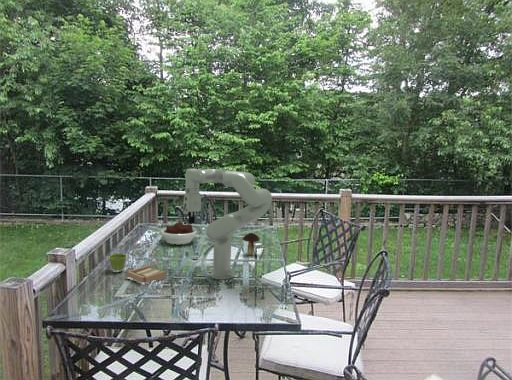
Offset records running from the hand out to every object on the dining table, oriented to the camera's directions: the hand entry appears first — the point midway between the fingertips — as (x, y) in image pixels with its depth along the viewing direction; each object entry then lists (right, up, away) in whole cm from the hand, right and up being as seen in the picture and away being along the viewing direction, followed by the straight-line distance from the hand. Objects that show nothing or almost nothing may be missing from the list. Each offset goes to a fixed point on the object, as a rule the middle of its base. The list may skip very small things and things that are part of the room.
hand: (191, 223), depth 231 cm
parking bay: (-21, -28, -14) cm, 38 cm away
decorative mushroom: (+33, -24, +36) cm, 54 cm away
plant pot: (-40, -27, -5) cm, 48 cm away
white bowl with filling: (-18, -19, +57) cm, 63 cm away
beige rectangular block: (-21, -28, -14) cm, 38 cm away
